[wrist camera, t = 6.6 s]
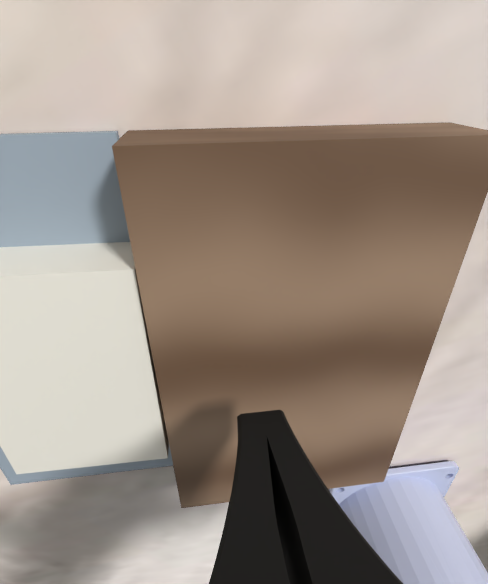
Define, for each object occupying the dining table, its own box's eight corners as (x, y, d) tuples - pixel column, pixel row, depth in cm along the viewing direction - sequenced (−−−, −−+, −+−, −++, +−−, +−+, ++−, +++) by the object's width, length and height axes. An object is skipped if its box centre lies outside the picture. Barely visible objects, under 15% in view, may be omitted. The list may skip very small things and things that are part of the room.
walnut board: (363, 437, 20) (383, 481, 18) (182, 458, 19) (181, 507, 17) (449, 122, 11) (508, 134, 9) (128, 130, 10) (112, 146, 8)
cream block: (170, 418, 17) (167, 458, 15) (34, 431, 16) (16, 474, 14) (142, 241, 12) (134, 269, 10) (-52, 249, 11) (-95, 281, 10)
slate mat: (177, 459, 19) (176, 465, 19) (13, 478, 18) (10, 484, 18) (117, 130, 10) (115, 132, 10) (-198, 138, 9) (-209, 140, 9)
